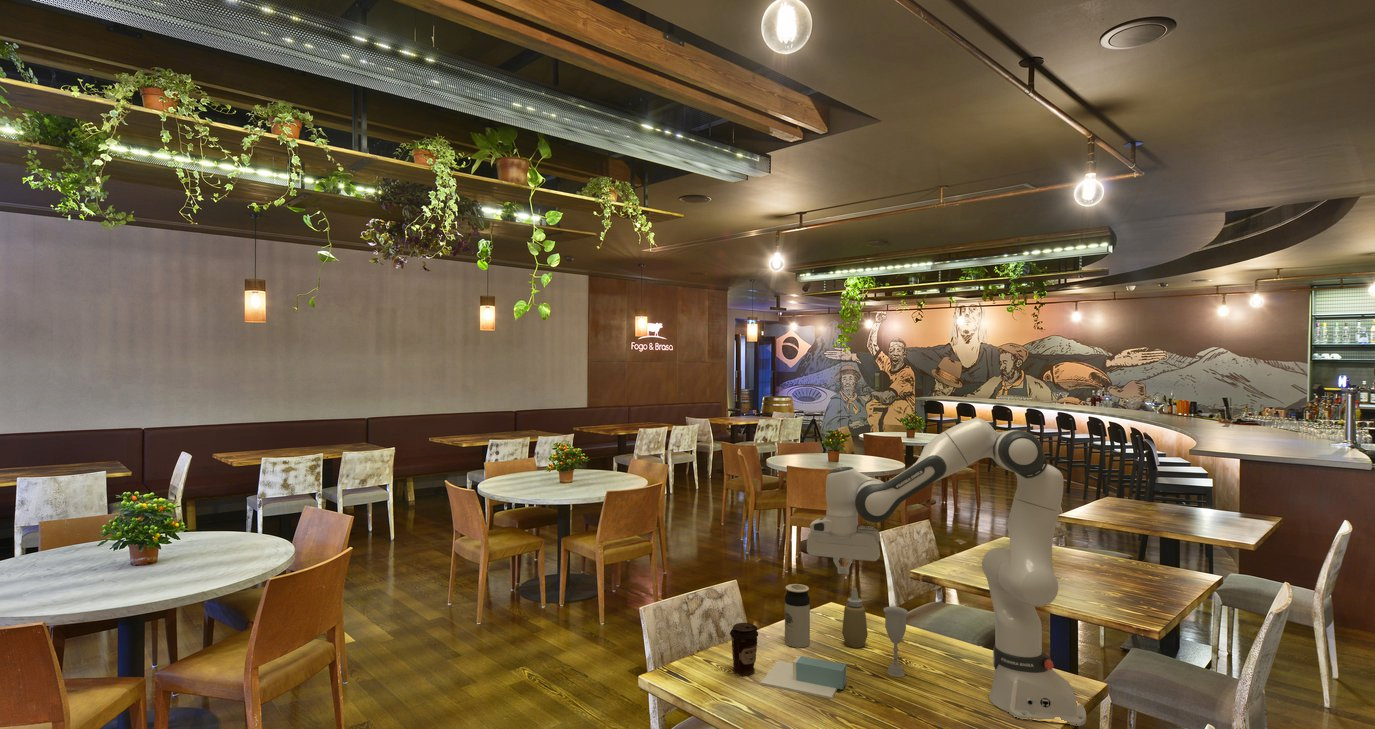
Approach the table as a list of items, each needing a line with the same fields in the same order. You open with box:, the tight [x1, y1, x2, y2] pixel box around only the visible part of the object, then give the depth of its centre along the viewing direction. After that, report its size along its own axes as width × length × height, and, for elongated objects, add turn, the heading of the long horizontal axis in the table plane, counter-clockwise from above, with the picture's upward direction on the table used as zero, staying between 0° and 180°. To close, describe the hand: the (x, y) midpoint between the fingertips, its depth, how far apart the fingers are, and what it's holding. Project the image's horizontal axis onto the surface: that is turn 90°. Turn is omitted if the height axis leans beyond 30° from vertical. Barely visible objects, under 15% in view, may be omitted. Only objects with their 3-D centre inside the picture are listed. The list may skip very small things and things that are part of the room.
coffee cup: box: [729, 622, 759, 676], centre depth 198 cm, size 9×8×13 cm
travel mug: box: [784, 583, 811, 649], centre depth 219 cm, size 8×8×18 cm
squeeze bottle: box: [841, 587, 869, 649], centre depth 218 cm, size 8×8×18 cm
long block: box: [792, 655, 847, 690], centre depth 190 cm, size 5×5×14 cm
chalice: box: [883, 606, 909, 678], centre depth 197 cm, size 7×7×18 cm
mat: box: [760, 660, 838, 700], centre depth 192 cm, size 20×16×1 cm
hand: (843, 573), depth 192 cm, fingers closed
